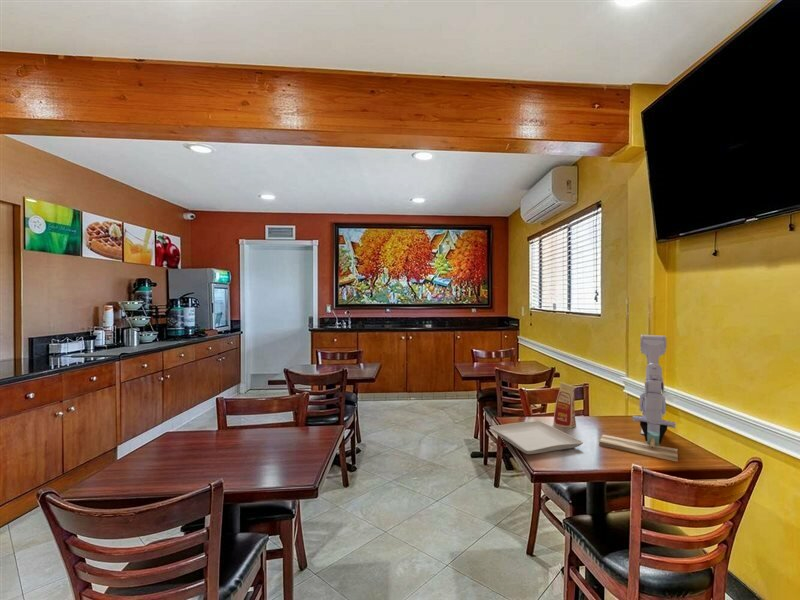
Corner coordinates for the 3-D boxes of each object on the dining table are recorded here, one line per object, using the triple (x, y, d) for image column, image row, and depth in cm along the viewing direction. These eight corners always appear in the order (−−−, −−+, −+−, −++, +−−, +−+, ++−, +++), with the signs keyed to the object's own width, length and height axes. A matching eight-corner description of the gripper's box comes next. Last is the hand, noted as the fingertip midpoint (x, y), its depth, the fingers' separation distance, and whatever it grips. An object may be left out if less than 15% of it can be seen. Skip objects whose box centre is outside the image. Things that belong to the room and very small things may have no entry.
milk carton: (553, 425, 180) (553, 383, 180) (557, 419, 187) (558, 379, 187) (574, 429, 175) (574, 385, 174) (577, 423, 182) (578, 382, 182)
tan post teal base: (647, 442, 159) (647, 430, 159) (659, 444, 157) (659, 432, 157) (646, 452, 149) (646, 439, 149) (658, 454, 147) (658, 441, 147)
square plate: (488, 434, 168) (488, 425, 168) (539, 428, 177) (539, 419, 176) (526, 459, 142) (526, 449, 142) (584, 450, 151) (584, 441, 151)
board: (602, 437, 164) (602, 434, 164) (677, 452, 149) (677, 448, 149) (599, 445, 156) (599, 441, 156) (677, 461, 141) (677, 457, 141)
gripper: (632, 407, 157) (631, 440, 157) (675, 414, 148) (675, 449, 148) (633, 404, 162) (633, 435, 162) (675, 410, 154) (674, 443, 154)
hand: (653, 441), depth 156 cm, fingers closed on tan post teal base, 4 cm apart
